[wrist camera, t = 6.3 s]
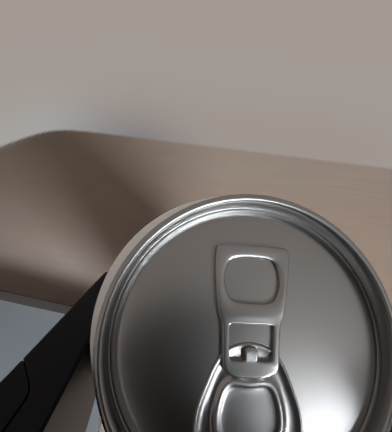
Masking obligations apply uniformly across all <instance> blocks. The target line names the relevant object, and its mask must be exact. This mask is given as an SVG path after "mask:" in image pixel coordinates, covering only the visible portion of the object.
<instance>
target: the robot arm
mask: <svg viewBox="0 0 392 432" xmlns="http://www.w3.org/2000/svg"><path fill="white" fill-rule="evenodd" d="M107 273H108V272H106V273H104V274H103V275H102V276H101V277H100V278H99V279H98V280H97V281H96V283H95V284H94V285H93V286H92V287H91V288H90V289H89V290H88V291H87V292H86V293H85V294H84V295H83V296H82V297H81V298H80V299H79V300H78V301H77V302H76V304H75V305H74V306H73V307H72V308H71V309H70V310H69V311H68V312H67V313H66V314H65V315H64V316H63V317H62V318H61V319H60V320H59V321H58V322H57V324H56V325H55V326H54V327H53V328H52V329H51V330H50V331H49V332H48V333H47V334H46V335H45V336H44V337H43V338H42V339H41V340H40V341H39V342H38V343H37V345H36V346H35V347H34V348H33V349H32V350H31V351H30V352H29V353H28V354H27V355H26V356H25V357H24V358H23V361H20V362H19V363H18V364H17V365H16V366H15V367H14V369H13V370H12V371H11V372H10V373H9V374H8V375H7V376H6V377H5V378H4V379H3V380H2V381H1V382H0V432H86V429H87V426H88V422H89V419H90V415H91V412H92V408H93V405H94V401H95V398H96V396H95V389H94V380H93V374H92V368H91V358H90V334H91V325H92V318H93V313H94V308H95V304H96V301H97V298H98V294H99V292H100V289H101V286H102V284H103V282H104V279H105V277H106V275H107ZM391 432H392V431H391Z"/></svg>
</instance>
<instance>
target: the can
mask: <svg viewBox="0 0 392 432" xmlns="http://www.w3.org/2000/svg"><path fill="white" fill-rule="evenodd" d="M90 358H91V368H92V374H93V380H94V389H95V396H96V401H97V406H98V410H99V414H100V417H101V421H102V424H103V427H104V430H105V432H391V431H392V306H391V303H390V300H389V298H388V295H387V293H386V291H385V289H384V286H383V284H382V282H381V281H380V279H379V277H378V275H377V273H376V272H375V270H374V268H373V267H372V265H371V264H370V262H369V261H368V260H367V258H366V257H365V256H364V254H363V253H362V252H361V251H360V249H359V248H358V247H357V246H356V245H355V244H354V243H353V242H352V241H351V240H350V239H349V238H348V237H347V236H346V235H345V234H344V233H343V232H342V231H341V230H340V229H338V228H337V227H336V226H335V225H333V224H332V223H331V222H329V221H328V220H326V219H325V218H323V217H322V216H320V215H318V214H317V213H315V212H313V211H311V210H309V209H307V208H305V207H303V206H300V205H298V204H295V203H293V202H290V201H287V200H283V199H279V198H275V197H270V196H264V195H253V194H238V195H227V196H221V197H212V198H205V199H200V200H196V201H192V202H189V203H186V204H183V205H180V206H178V207H176V208H173V209H171V210H169V211H167V212H166V213H164V214H162V215H160V216H159V217H157V218H156V219H154V220H153V221H151V222H150V223H149V224H147V225H146V226H145V227H144V228H142V229H141V230H140V231H139V232H138V233H137V234H136V235H135V236H134V237H133V238H132V239H131V240H130V241H129V242H128V243H127V245H126V246H125V247H124V248H123V249H122V251H121V252H120V254H119V255H118V256H117V258H116V259H115V261H114V262H113V264H112V266H111V268H110V269H109V271H108V273H107V275H106V277H105V279H104V282H103V284H102V286H101V289H100V292H99V294H98V298H97V301H96V304H95V308H94V313H93V318H92V325H91V334H90Z"/></svg>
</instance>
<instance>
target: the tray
mask: <svg viewBox="0 0 392 432" xmlns="http://www.w3.org/2000/svg"><path fill="white" fill-rule="evenodd" d="M71 308H72V306H67V305H63V304H58V303H54V302H49V301H45V300H40V299H36V298H31V297H27V296H22V295H18V294H13V293H9V292H4V291H0V382H1V381H2V380H3V379H4V378H5V377H6V376H7V375H8V374H9V373H10V372H11V371H12V370H13V369H14V367H15V366H16V365H17V364H18V363H19V362H20V361H23V358H24V357H25V356H26V355H27V354H28V353H29V352H30V351H31V350H32V349H33V348H34V347H35V346H36V345H37V343H38V342H39V341H40V340H41V339H42V338H43V337H44V336H45V335H46V334H47V333H48V332H49V331H50V330H51V329H52V328H53V327H54V326H55V325H56V324H57V322H58V321H59V320H60V319H61V318H62V317H63V316H64V315H65V314H66V313H67V312H68V311H69V310H70V309H71ZM100 425H101V417H100V414H99V410H98V406H97V401H96V398H95V401H94V405H93V408H92V412H91V415H90V419H89V422H88V426H87V429H86V432H99V429H100Z"/></svg>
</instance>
